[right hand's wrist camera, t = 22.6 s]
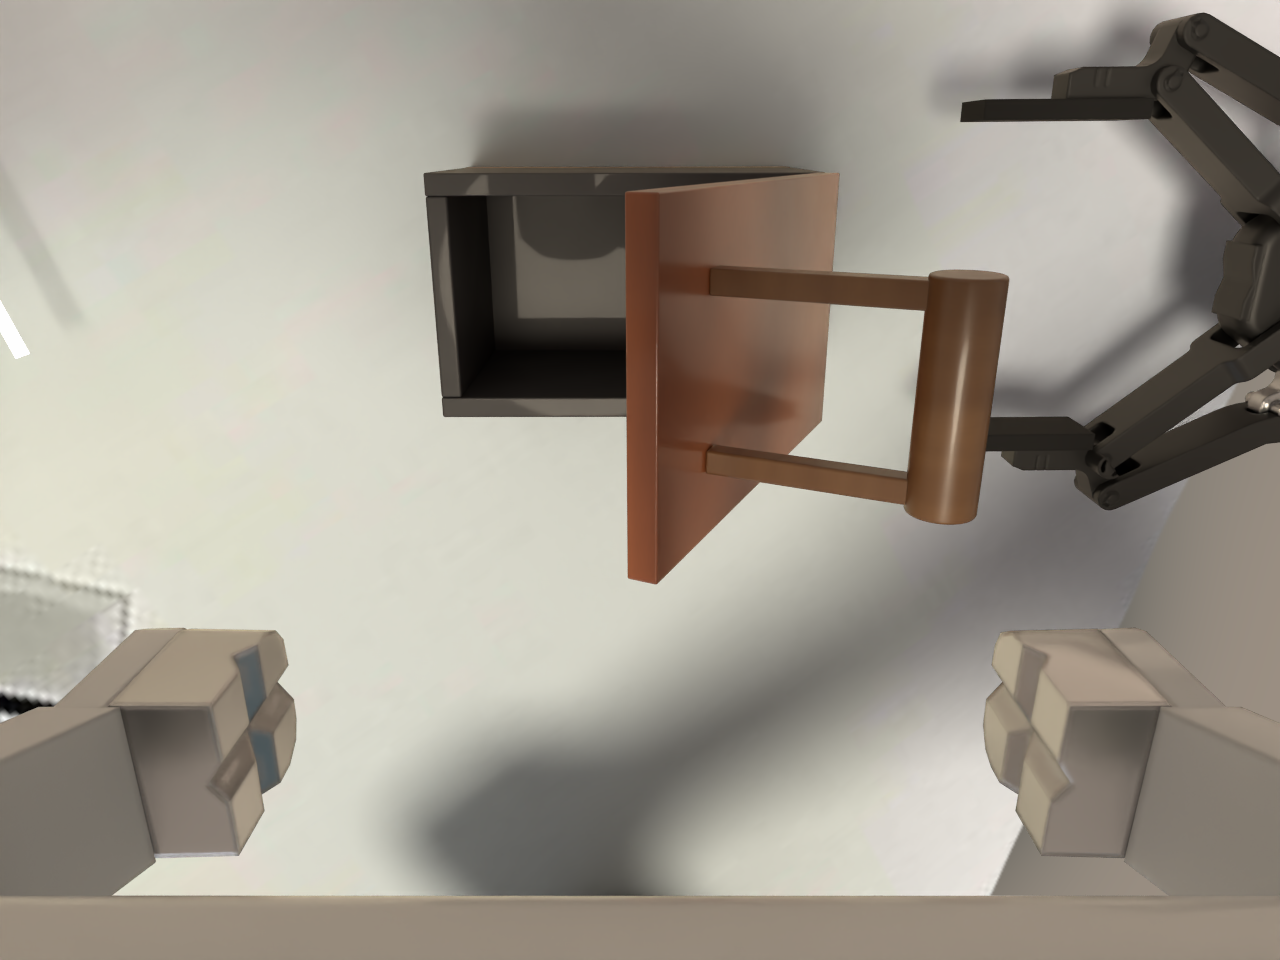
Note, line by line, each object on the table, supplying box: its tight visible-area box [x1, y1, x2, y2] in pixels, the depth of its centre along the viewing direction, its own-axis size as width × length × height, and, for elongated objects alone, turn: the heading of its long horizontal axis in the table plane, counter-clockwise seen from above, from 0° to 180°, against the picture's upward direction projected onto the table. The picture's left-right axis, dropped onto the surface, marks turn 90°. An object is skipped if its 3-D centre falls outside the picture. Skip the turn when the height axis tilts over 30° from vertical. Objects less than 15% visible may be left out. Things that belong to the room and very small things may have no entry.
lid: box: [625, 173, 1009, 584], centre depth 27 cm, size 16×10×8 cm
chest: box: [424, 166, 825, 417], centre depth 40 cm, size 15×10×10 cm, turn 90°
